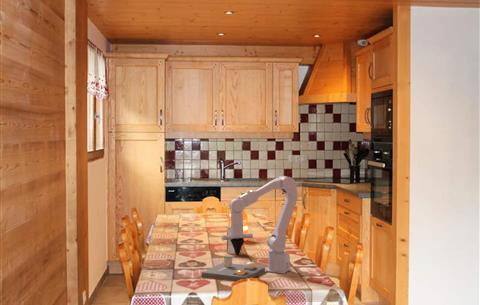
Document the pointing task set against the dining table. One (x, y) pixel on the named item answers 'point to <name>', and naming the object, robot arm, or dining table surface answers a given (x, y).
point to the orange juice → (245, 227)
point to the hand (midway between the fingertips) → (237, 254)
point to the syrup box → (229, 245)
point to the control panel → (231, 272)
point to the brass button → (240, 272)
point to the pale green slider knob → (228, 261)
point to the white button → (250, 266)
